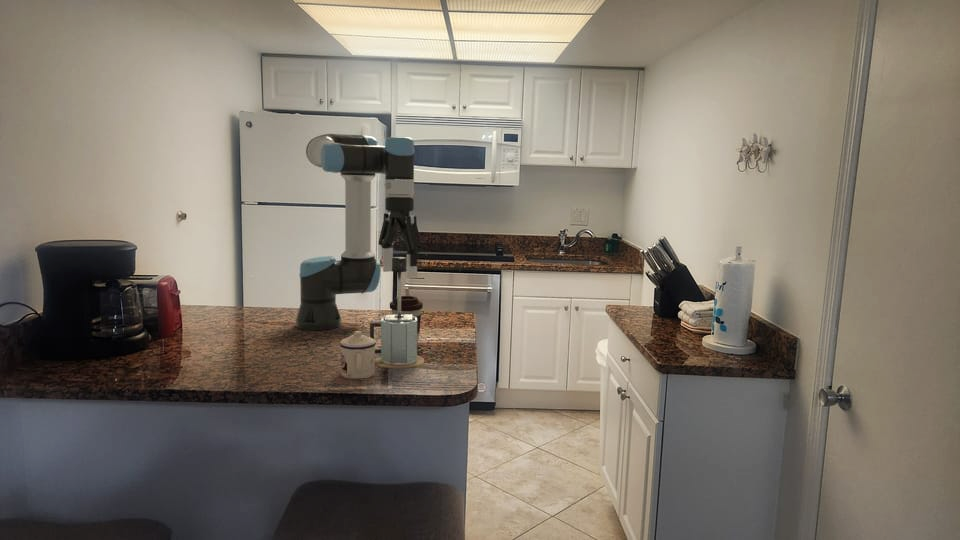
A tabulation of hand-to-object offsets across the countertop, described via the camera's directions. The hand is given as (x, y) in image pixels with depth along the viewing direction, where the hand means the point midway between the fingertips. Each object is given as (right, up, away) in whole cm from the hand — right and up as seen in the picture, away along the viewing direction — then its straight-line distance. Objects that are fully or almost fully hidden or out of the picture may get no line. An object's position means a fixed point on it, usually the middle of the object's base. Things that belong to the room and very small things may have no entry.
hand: (399, 274), depth 165 cm
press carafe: (-2, -24, +4) cm, 24 cm away
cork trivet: (-1, -25, +4) cm, 25 cm away
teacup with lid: (-9, -26, -9) cm, 29 cm away
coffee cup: (-1, -22, +21) cm, 30 cm away
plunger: (0, -14, +2) cm, 14 cm away
